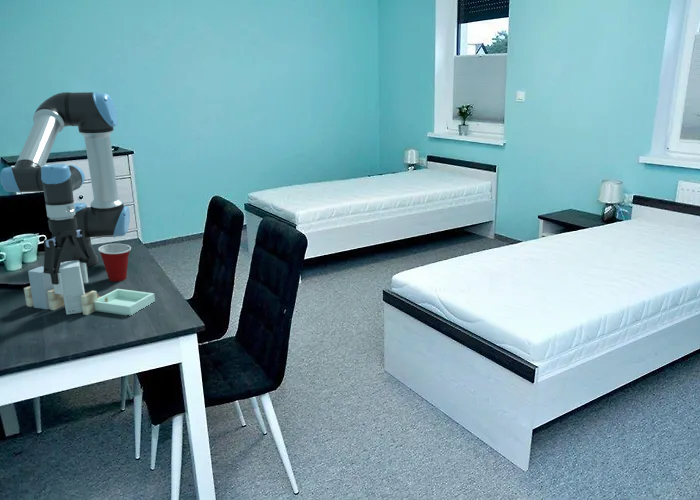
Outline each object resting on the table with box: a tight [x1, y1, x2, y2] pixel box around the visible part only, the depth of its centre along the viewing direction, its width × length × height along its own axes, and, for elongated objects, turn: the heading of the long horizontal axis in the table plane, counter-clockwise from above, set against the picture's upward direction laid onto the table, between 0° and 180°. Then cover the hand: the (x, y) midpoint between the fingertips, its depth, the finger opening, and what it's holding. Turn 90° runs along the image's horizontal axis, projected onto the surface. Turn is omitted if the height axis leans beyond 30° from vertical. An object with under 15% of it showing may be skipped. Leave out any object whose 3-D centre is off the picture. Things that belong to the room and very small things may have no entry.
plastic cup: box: [97, 243, 132, 282], centre depth 199 cm, size 11×11×12 cm
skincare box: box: [58, 260, 86, 315], centre depth 171 cm, size 8×6×15 cm
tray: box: [94, 288, 156, 317], centre depth 176 cm, size 12×14×3 cm
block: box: [27, 266, 54, 310], centre depth 174 cm, size 5×5×12 cm
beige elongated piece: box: [23, 285, 108, 316], centre depth 175 cm, size 9×24×6 cm, turn 73°
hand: (72, 287), depth 171 cm, fingers closed on skincare box, 9 cm apart
